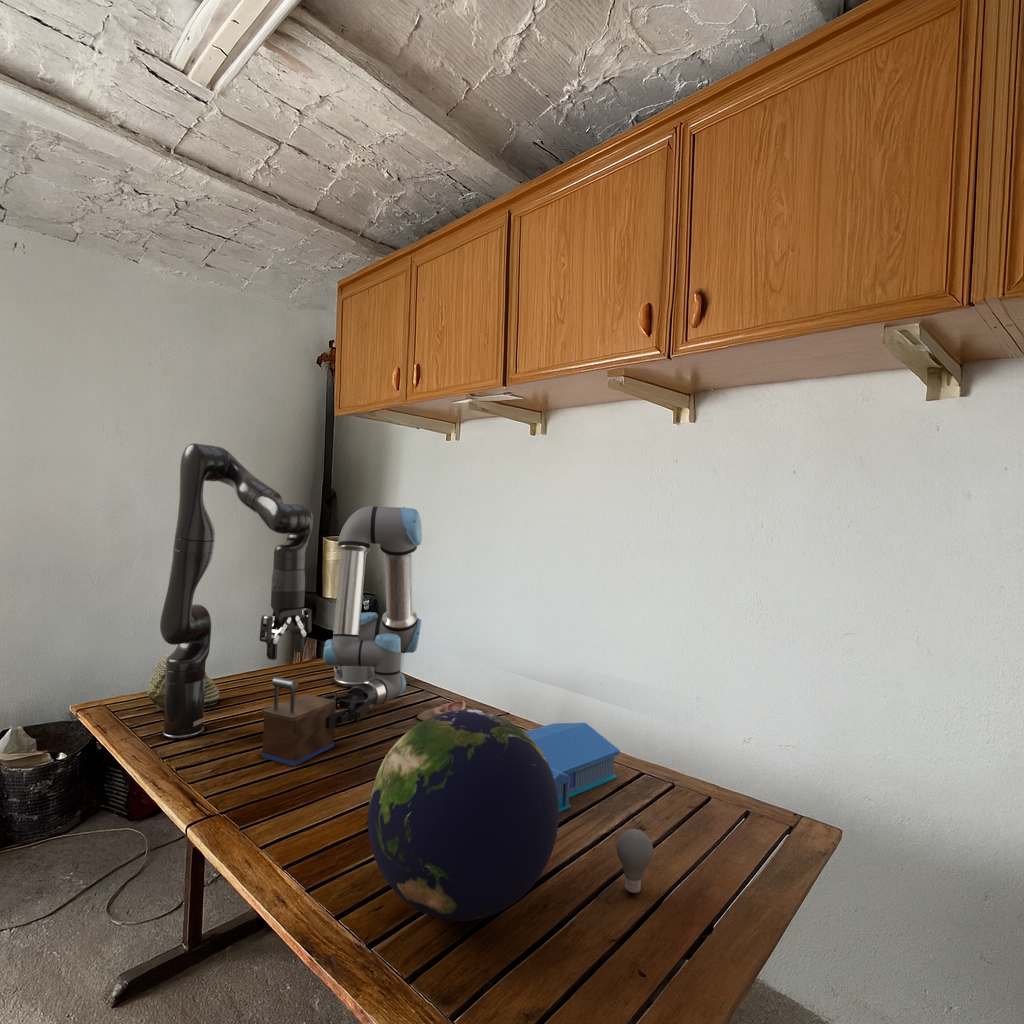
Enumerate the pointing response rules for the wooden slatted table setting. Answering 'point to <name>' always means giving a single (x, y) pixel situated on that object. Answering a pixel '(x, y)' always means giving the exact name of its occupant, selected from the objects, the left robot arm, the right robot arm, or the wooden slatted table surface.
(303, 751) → the chest
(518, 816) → the globe
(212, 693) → the fossil
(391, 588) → the right robot arm
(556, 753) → the model building
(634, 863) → the light bulb
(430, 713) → the anatomical model
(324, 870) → the wooden slatted table surface
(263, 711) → the lid
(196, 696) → the left robot arm
